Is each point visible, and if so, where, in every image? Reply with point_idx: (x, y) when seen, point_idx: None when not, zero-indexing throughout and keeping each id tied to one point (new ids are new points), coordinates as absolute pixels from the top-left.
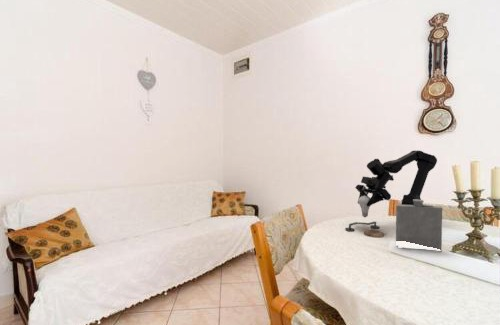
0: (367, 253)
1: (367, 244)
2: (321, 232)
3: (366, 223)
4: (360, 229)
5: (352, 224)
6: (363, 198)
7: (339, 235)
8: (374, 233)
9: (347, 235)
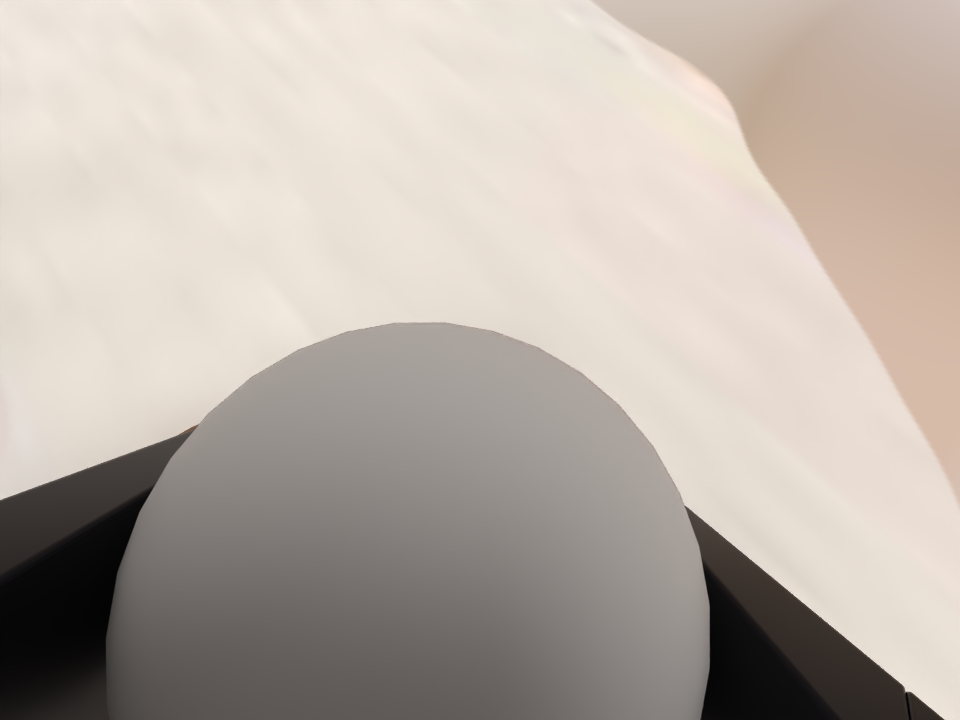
0: (7, 51)
1: (114, 203)
2: (596, 123)
3: None
4: None
5: None
6: (338, 345)
7: (445, 187)
8: None
9: (403, 248)
